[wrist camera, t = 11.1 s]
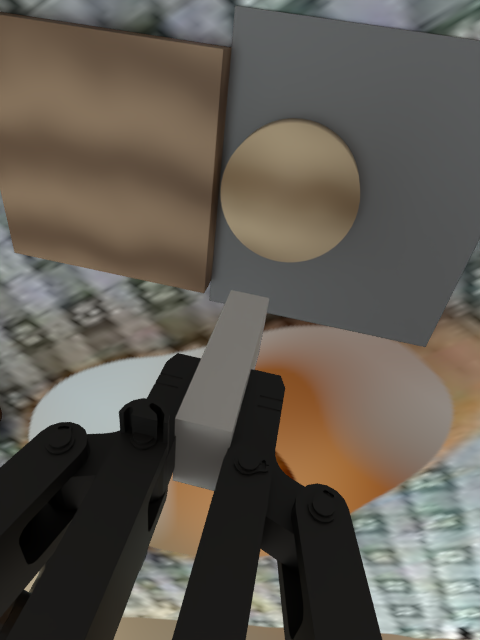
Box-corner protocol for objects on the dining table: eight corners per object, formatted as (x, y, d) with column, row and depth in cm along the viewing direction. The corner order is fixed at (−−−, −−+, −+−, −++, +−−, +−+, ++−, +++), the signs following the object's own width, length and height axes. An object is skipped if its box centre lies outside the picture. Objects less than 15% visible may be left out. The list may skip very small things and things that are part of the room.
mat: (424, 344, 34) (425, 347, 33) (210, 297, 35) (209, 300, 35) (568, 53, 22) (571, 53, 22) (236, 6, 24) (235, 5, 23)
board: (212, 277, 34) (204, 293, 32) (33, 240, 36) (14, 252, 34) (233, 47, 25) (223, 49, 23) (-12, 10, 26) (-41, 8, 24)
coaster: (343, 258, 31) (343, 271, 29) (224, 240, 32) (218, 252, 30) (374, 126, 25) (376, 133, 24) (231, 110, 26) (223, 115, 25)
